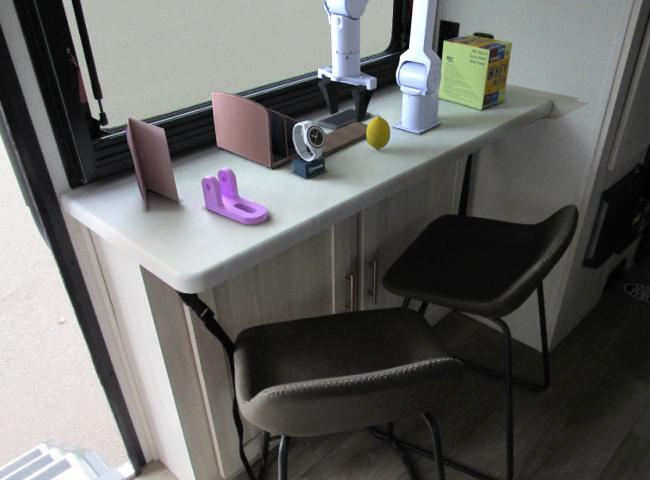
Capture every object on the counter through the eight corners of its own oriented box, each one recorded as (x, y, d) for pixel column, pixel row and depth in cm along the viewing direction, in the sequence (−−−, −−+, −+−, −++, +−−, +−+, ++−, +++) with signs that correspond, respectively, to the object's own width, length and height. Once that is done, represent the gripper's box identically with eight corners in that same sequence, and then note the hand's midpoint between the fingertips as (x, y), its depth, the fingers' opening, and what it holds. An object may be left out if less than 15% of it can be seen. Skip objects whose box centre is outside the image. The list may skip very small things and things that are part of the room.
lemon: (388, 155, 131) (389, 121, 126) (364, 154, 132) (364, 120, 127) (391, 146, 135) (392, 112, 131) (368, 145, 136) (368, 111, 132)
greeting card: (141, 187, 121) (123, 117, 112) (176, 182, 122) (161, 112, 113) (141, 211, 112) (122, 137, 103) (179, 205, 113) (164, 132, 104)
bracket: (206, 208, 112) (200, 175, 108) (226, 197, 116) (221, 165, 112) (252, 227, 106) (248, 193, 102) (273, 215, 109) (269, 182, 105)
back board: (356, 125, 147) (356, 121, 147) (378, 131, 143) (378, 127, 143) (302, 148, 136) (301, 144, 135) (325, 156, 132) (324, 152, 131)
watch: (311, 181, 121) (309, 131, 114) (288, 170, 126) (284, 121, 119) (331, 173, 124) (330, 124, 117) (307, 163, 129) (305, 114, 122)
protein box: (482, 110, 154) (490, 49, 145) (437, 98, 163) (442, 40, 154) (504, 101, 159) (513, 42, 150) (460, 90, 169) (466, 33, 159)
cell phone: (372, 116, 152) (372, 113, 152) (336, 130, 144) (336, 127, 144) (351, 110, 156) (351, 107, 156) (316, 124, 148) (316, 121, 148)
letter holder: (271, 169, 126) (265, 105, 118) (216, 147, 137) (207, 87, 129) (303, 155, 132) (299, 94, 124) (248, 135, 143) (241, 77, 135)
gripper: (306, 49, 117) (310, 114, 125) (360, 60, 109) (360, 129, 117) (329, 42, 121) (331, 106, 129) (383, 52, 113) (382, 120, 121)
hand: (347, 116), depth 124 cm, fingers open, 7 cm apart
